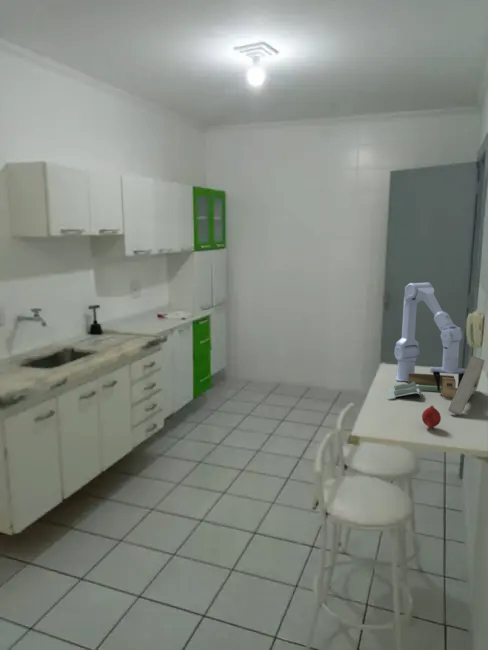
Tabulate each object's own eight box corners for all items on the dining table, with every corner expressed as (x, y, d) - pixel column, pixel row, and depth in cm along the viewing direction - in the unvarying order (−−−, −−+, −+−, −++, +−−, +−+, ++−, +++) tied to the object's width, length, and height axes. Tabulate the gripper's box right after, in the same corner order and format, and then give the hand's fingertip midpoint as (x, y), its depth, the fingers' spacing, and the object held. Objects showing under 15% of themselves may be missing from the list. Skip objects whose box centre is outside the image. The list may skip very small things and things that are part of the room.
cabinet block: (441, 392, 206) (442, 377, 205) (453, 393, 205) (454, 378, 204) (442, 397, 201) (443, 381, 200) (454, 398, 200) (455, 382, 199)
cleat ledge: (410, 385, 217) (410, 380, 217) (450, 388, 213) (451, 383, 212) (411, 389, 211) (411, 385, 210) (452, 392, 206) (452, 388, 206)
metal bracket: (419, 378, 208) (420, 388, 194) (422, 391, 208) (424, 402, 194) (383, 385, 212) (383, 395, 198) (387, 398, 213) (386, 409, 199)
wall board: (408, 384, 219) (408, 372, 218) (453, 387, 214) (453, 375, 213) (408, 385, 218) (408, 373, 217) (453, 388, 212) (454, 376, 212)
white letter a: (456, 434, 203) (460, 414, 178) (445, 430, 205) (448, 409, 180) (477, 386, 208) (484, 360, 183) (466, 382, 210) (472, 355, 185)
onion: (418, 425, 170) (419, 402, 169) (435, 424, 171) (436, 402, 169) (425, 431, 165) (427, 408, 163) (443, 431, 165) (444, 407, 164)
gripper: (431, 359, 199) (429, 392, 201) (471, 361, 195) (469, 395, 197) (430, 355, 206) (428, 387, 208) (469, 357, 202) (467, 390, 204)
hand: (448, 391), depth 203 cm, fingers open, 7 cm apart
